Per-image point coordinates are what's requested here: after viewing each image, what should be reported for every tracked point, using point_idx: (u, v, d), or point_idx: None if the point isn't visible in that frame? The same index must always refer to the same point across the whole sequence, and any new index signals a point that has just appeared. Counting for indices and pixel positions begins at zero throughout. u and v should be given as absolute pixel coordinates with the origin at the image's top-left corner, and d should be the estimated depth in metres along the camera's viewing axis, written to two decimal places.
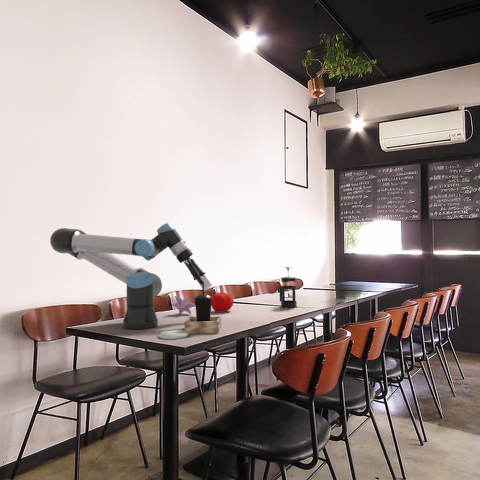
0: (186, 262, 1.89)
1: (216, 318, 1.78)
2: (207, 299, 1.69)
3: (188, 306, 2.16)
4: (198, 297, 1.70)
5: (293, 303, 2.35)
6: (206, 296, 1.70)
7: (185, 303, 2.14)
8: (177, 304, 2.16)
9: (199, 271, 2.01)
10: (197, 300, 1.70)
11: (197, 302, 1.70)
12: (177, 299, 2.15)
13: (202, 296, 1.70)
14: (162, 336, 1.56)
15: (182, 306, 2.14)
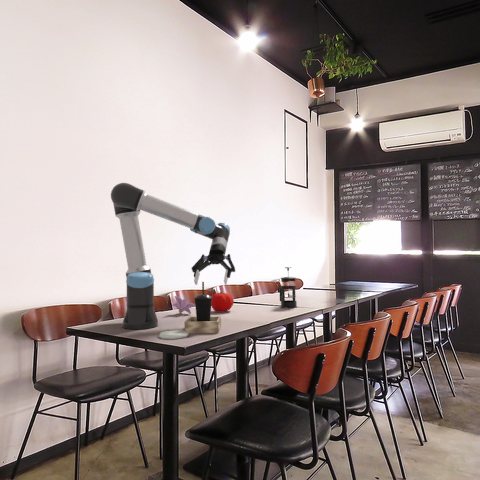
0: None
1: (216, 318, 1.78)
2: (207, 299, 1.69)
3: (188, 306, 2.16)
4: (198, 297, 1.70)
5: (293, 303, 2.35)
6: (206, 296, 1.70)
7: (185, 303, 2.15)
8: (177, 304, 2.16)
9: (202, 268, 1.91)
10: (197, 300, 1.70)
11: (197, 302, 1.70)
12: (177, 299, 2.15)
13: (202, 296, 1.70)
14: (162, 336, 1.56)
15: (182, 306, 2.15)
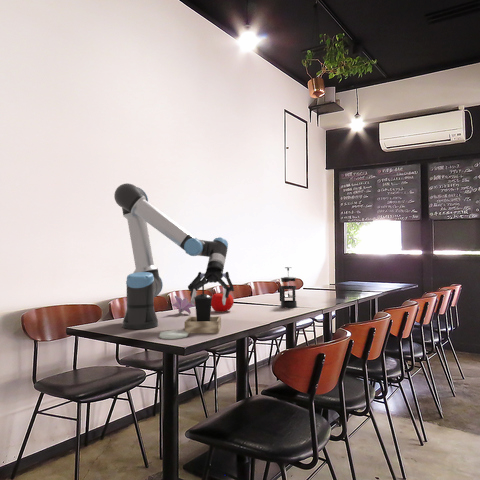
0: (228, 274, 1.83)
1: (216, 318, 1.78)
2: (207, 299, 1.69)
3: (188, 306, 2.16)
4: (198, 297, 1.70)
5: (293, 303, 2.35)
6: (206, 296, 1.70)
7: (185, 303, 2.15)
8: (177, 304, 2.17)
9: (199, 287, 1.81)
10: (197, 300, 1.70)
11: (197, 302, 1.70)
12: (177, 299, 2.16)
13: (202, 296, 1.70)
14: (162, 336, 1.56)
15: (182, 306, 2.15)
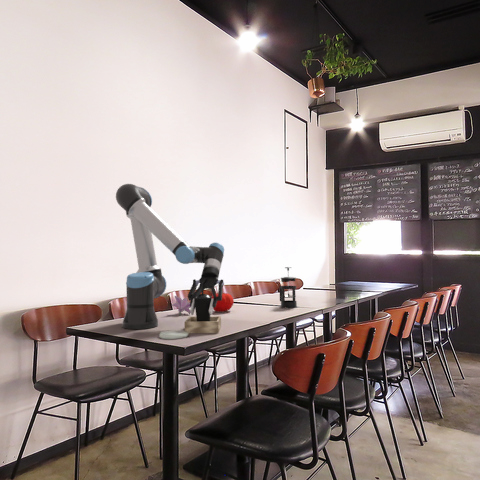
0: (222, 282, 1.79)
1: (216, 318, 1.78)
2: (207, 299, 1.69)
3: (188, 306, 2.17)
4: (198, 297, 1.70)
5: (293, 303, 2.35)
6: (206, 296, 1.70)
7: (185, 303, 2.15)
8: (177, 304, 2.17)
9: None
10: (197, 300, 1.70)
11: (197, 302, 1.70)
12: (177, 299, 2.16)
13: (202, 296, 1.70)
14: (162, 336, 1.56)
15: (182, 306, 2.15)
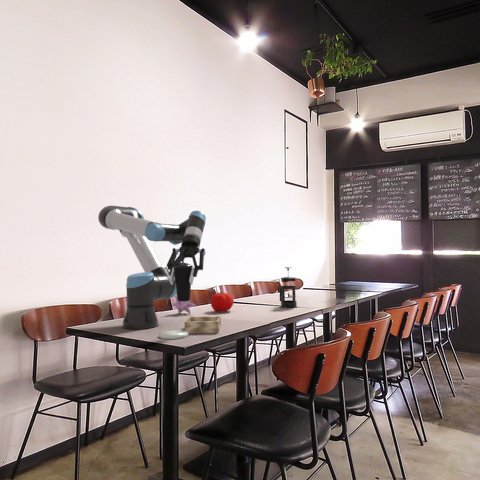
0: (204, 251, 1.69)
1: (216, 318, 1.78)
2: (187, 268, 1.60)
3: (187, 306, 2.17)
4: (178, 266, 1.60)
5: (293, 303, 2.35)
6: (186, 265, 1.61)
7: (185, 303, 2.16)
8: (176, 304, 2.17)
9: None
10: (176, 269, 1.60)
11: (177, 271, 1.60)
12: (177, 299, 2.16)
13: (182, 265, 1.60)
14: (162, 336, 1.56)
15: (182, 306, 2.15)
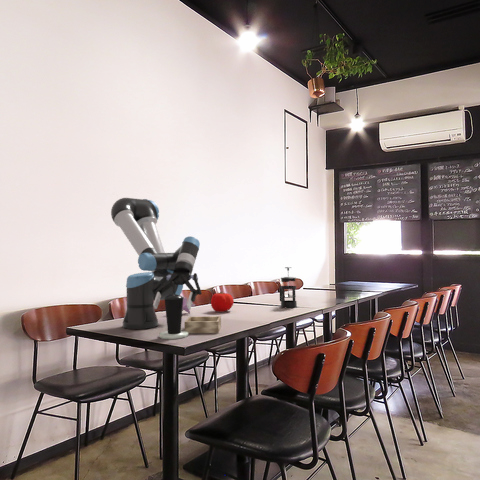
0: None
1: (216, 318, 1.78)
2: (178, 300, 1.57)
3: None
4: (168, 297, 1.58)
5: (293, 303, 2.35)
6: (177, 296, 1.58)
7: (184, 303, 2.16)
8: None
9: (164, 289, 1.66)
10: (167, 301, 1.58)
11: (167, 303, 1.58)
12: None
13: (172, 296, 1.58)
14: (162, 336, 1.56)
15: None
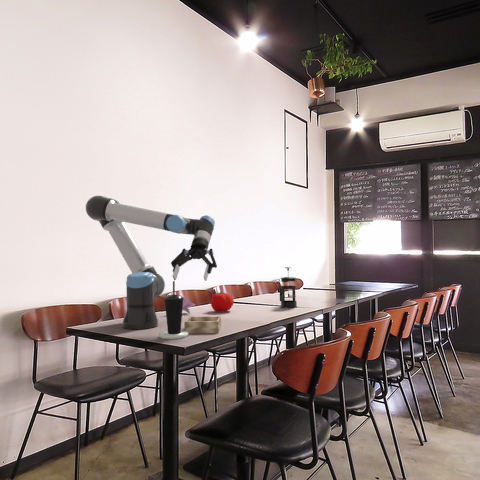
0: (212, 251, 1.81)
1: (216, 318, 1.78)
2: (178, 300, 1.57)
3: (187, 305, 2.18)
4: (168, 298, 1.57)
5: (293, 303, 2.35)
6: (177, 297, 1.58)
7: (184, 303, 2.17)
8: None
9: (183, 263, 1.80)
10: (167, 301, 1.57)
11: (167, 303, 1.57)
12: None
13: (172, 297, 1.58)
14: (162, 336, 1.56)
15: None
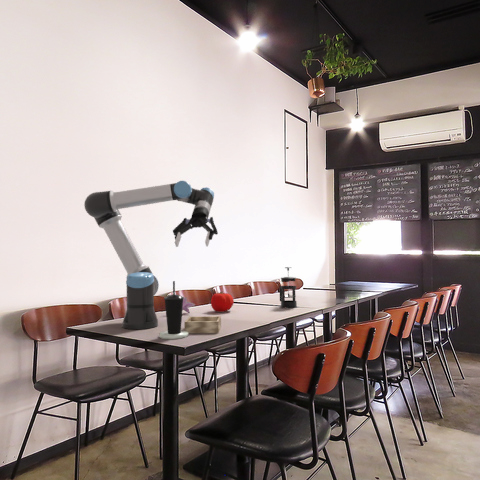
0: None
1: (216, 318, 1.78)
2: (178, 300, 1.57)
3: (187, 305, 2.18)
4: (168, 298, 1.57)
5: (293, 303, 2.35)
6: (177, 297, 1.58)
7: (184, 302, 2.17)
8: None
9: (184, 231, 1.85)
10: (167, 301, 1.57)
11: (167, 303, 1.57)
12: None
13: (172, 297, 1.58)
14: (162, 336, 1.56)
15: None
